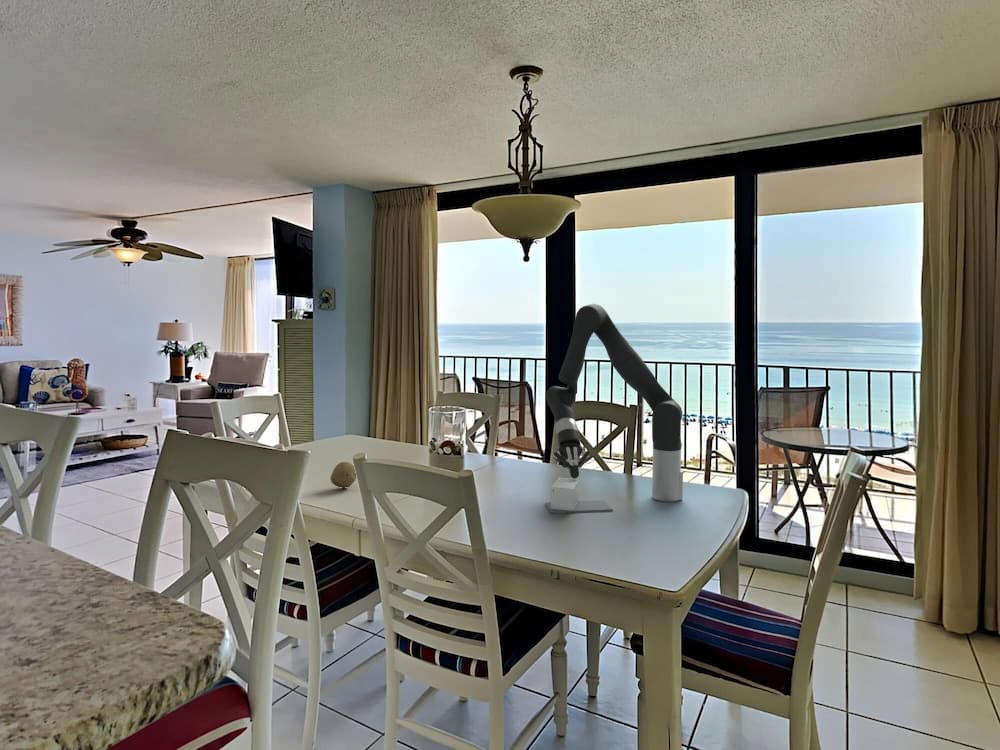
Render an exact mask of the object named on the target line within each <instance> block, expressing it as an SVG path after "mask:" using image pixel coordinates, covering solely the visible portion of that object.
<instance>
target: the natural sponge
mask: <svg viewBox="0 0 1000 750" xmlns="http://www.w3.org/2000/svg"><path fill="white" fill-rule="evenodd" d="M354 467H355V465H353V464H352V463H351V462H347V461H342V462H339V463H338V464H336V466H335V467H334V468H333V470H332V473H331V475H330V482H331V484H333V486H335V487H338V488H339V487H342V488H345V487H348V488H349V487H350V486H352V484H353V483H355V482H356V480H357V477H356V473H355V469H356V468H355V469H354Z"/></svg>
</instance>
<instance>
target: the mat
mask: <svg viewBox="0 0 1000 750" xmlns="http://www.w3.org/2000/svg"><path fill="white" fill-rule="evenodd" d="M544 504H545V506H546V508H547V510H548V512H549V513H550V514H552V515H553V514H570V513H571V514H573V513H575V514H576V513H596V512H598V513H599V512H601V513H602V512H613V511H614V509H613V508H612V507H611V506H610V504H608V502H607V501H606V500H604V499H599V500H598V499H596V500H579V501H578V503H577V504H576V506H575V508H574V510H573V511H568V510H556V509H551V501H546V502H544Z"/></svg>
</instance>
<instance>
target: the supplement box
mask: <svg viewBox="0 0 1000 750" xmlns="http://www.w3.org/2000/svg"><path fill="white" fill-rule="evenodd" d="M578 501H580V479H579V478H574V479H573V478H572V477H570V478H567V477H558V478H557V479H556V480H555V482H554V483H553V484H552V485H551V487H550V502H551V509H556V510H568V511H573V510H574V508H575V506H576V504H577V503H578Z"/></svg>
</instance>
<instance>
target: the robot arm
mask: <svg viewBox="0 0 1000 750" xmlns="http://www.w3.org/2000/svg"><path fill="white" fill-rule="evenodd" d="M593 334H594V335H595V336H596V337H597V338H598V340H599V341H601V343H602V345H603V346H604V347H605V351H606V353H607V356H608V359H609V361H610V363H611V365H612V366H613V368H614V369H615V370H616V372H617V373H618V374H619V376H620V377H621V378H622V379H623V381H624V382H626V384H627V385H628V386H630V388H632V390H634V391H635V392H637V394H638V395H639V396H641V397H642V398H643V400H644V401H645V402H646V403H647V405H648V407H649V408H650V409H651V411H652V415H651V416H652V417H651V419H652V421H651V430H652V431H651V439H652V473H651V474H652V476H651V477H652V480H651V482H652V483H651V495H652V496H651V497H652V499H653V500H656V501H660V502H667V503H668V502H670V503H672V502H673V503H674V502H678V501H683V497H684V496H683V492H684V491H683V487H684V485H683V484H684V472H683V471H682V470H681V469H682V467H681V466H682V462H681V461H682V436H681V434H682V430H681V429H682V428H681V427H682V426H681V424H682V419H683V410H682V408H681V406H680V404H679V403H678V402H677V401H676V400H675V399H674V398H673V397H672V396H671V395H670V394H669V393H668V392H667V391H666V390H665V389H664V387H662V385H661V384H660V383H659V381H658V380H657V378H656V377H655V376H654V375H655V374H654V373H652V371H651V369H650V368H649V367H648V366H647V364H646V363H645V361H644V360H643V359H642V357H641V356H640V355H639V354H638V352H637V351H636V350H635V349H634V348H633V346H632V345H631V344H630V342H628V340H627V339H626V338H625V337H624V336H623V334H622V333H621V332H620V331H619V329H618V328H617V326H616V325H615V324H614V322H613V320H612V318H611V317H610V315H609V314H608V312H607V311H606V309H605V308H604V307H603V306H602V305H600V304H596V303H591V304H590V303H589V304H587V305H583V306H581V307H580V308H579V309H578V310H577V312H576V315H575V319H574V323H573V329H572V334H571V338H570V342H569V345H568V348H567V352H566V355H565V358H564V360H563V363H562V366H561V368H560V371H559V374H558V380H559V381H560V382H561V383H563V384H565V385H566V386H567V387H561V386H559V385H558V386H557V385H553V386H550V387H549V388H548V390H547V391H546V396H545V397H546V401H547V404H548V407H549V408H550V410H551V413H552V414H553V416H554V421H555V432H556V437H557V438H556V439H557V443H558V444H557V445H558V449H557V451H554V452H553V454H552V458H553V459H554V460H555V461H556V462H557V463H558V464H559V465H560V466H561V467H563V468H567V469H568V471H569V476H570V478H572V479H578V478H579V474H580V470H579V468H582V467H583V465H584V464H585V462H586V461H587V460H588V459H589V457H590V452H591V451H589V450H587V451H586V450H585V449H584V448H583V446H582V445H581V444H582V443H581V439H580V436H579V429H578V425H577V421H576V417H575V412H574V410H573V408H572V407H573V405H574V404H575V402H576V398H577V397H576V395H577V386H578V381H579V378H580V376H581V373H582V370H583V367H584V363H585V357H586V351H587V347H588V344H589V341H590V339H591V338H592V335H593ZM580 457H581V458H580ZM579 458H580V461H579Z"/></svg>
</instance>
